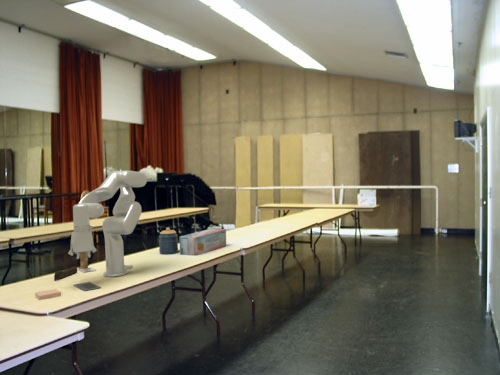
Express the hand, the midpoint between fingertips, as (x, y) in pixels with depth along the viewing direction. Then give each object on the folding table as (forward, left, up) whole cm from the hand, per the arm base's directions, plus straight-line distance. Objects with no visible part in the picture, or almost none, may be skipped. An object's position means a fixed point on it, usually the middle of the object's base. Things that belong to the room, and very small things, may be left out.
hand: (83, 265), depth 218 cm
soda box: (-98, -40, -10) cm, 107 cm away
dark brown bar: (0, -28, -10) cm, 29 cm away
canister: (-75, -50, -10) cm, 91 cm away
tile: (+19, +4, -9) cm, 21 cm away
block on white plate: (0, +4, -2) cm, 4 cm away
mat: (0, +4, -10) cm, 11 cm away
